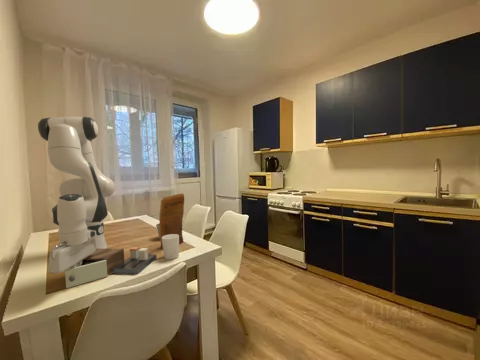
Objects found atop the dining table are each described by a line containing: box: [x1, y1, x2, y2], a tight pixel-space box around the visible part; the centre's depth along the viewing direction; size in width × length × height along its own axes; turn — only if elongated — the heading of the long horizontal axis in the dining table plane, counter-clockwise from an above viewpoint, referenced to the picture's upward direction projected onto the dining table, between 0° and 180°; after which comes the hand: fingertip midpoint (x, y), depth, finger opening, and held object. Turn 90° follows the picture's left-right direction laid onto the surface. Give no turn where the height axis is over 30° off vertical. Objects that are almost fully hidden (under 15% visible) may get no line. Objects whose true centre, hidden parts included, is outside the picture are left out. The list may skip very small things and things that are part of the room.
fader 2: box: [138, 247, 149, 260], centre depth 101 cm, size 3×3×4 cm
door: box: [64, 260, 108, 289], centre depth 85 cm, size 13×2×6 cm, turn 130°
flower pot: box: [155, 223, 160, 240], centre depth 139 cm, size 9×9×9 cm
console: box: [111, 253, 158, 275], centre depth 100 cm, size 11×16×2 cm
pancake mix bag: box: [158, 192, 185, 250], centre depth 125 cm, size 7×19×28 cm, turn 149°
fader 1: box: [129, 246, 141, 259], centre depth 103 cm, size 3×3×4 cm
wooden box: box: [81, 248, 125, 276], centre depth 97 cm, size 15×11×7 cm
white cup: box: [162, 234, 180, 260], centre depth 108 cm, size 8×8×10 cm
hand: (76, 273), depth 86 cm, fingers closed
